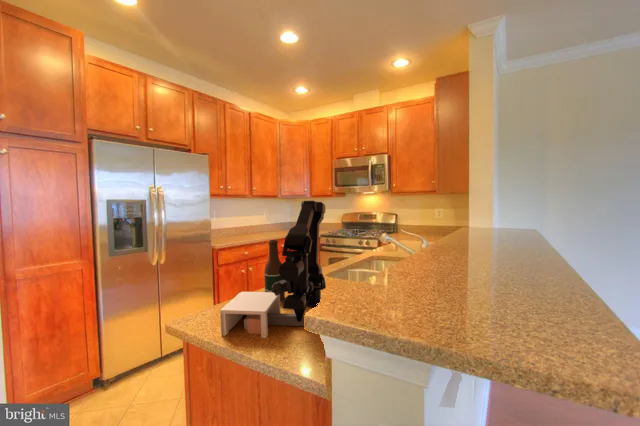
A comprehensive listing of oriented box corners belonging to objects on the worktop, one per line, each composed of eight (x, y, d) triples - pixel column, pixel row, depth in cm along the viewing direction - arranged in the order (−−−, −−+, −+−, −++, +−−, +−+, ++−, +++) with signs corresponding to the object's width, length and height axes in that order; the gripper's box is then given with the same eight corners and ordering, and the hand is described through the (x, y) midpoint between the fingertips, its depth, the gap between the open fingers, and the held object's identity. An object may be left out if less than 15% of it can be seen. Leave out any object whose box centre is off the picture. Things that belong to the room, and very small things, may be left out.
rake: (251, 321, 95) (250, 312, 95) (307, 323, 92) (306, 313, 92) (244, 329, 90) (243, 320, 90) (303, 331, 87) (302, 321, 87)
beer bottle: (261, 301, 113) (259, 241, 111) (273, 295, 120) (271, 238, 118) (277, 304, 109) (275, 242, 108) (288, 297, 116) (286, 239, 115)
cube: (253, 326, 92) (253, 312, 92) (266, 327, 91) (266, 313, 91) (247, 333, 88) (247, 318, 87) (261, 334, 87) (261, 319, 86)
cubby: (242, 313, 102) (241, 291, 101) (280, 314, 100) (279, 292, 99) (221, 335, 86) (220, 310, 85) (266, 337, 84) (265, 311, 84)
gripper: (281, 264, 101) (283, 307, 102) (264, 280, 82) (266, 332, 83) (313, 264, 99) (314, 308, 100) (302, 280, 81) (304, 334, 82)
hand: (300, 319), depth 91 cm, fingers closed on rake, 2 cm apart
